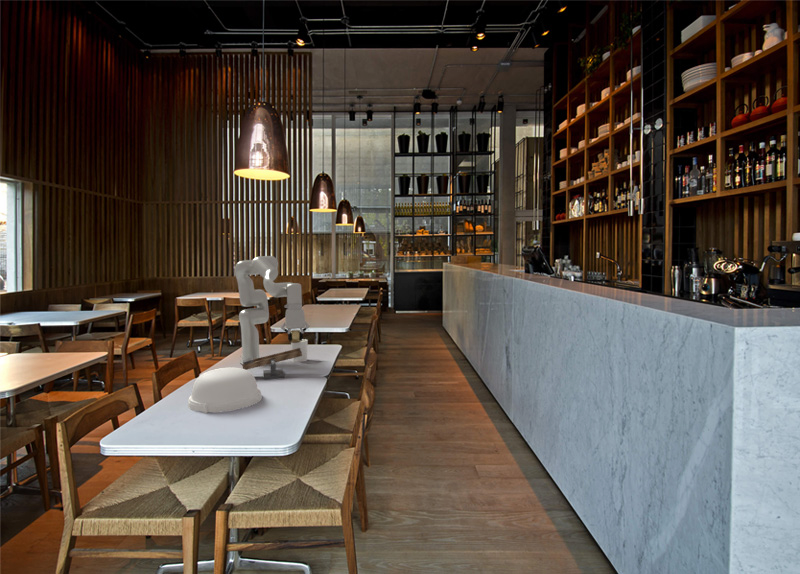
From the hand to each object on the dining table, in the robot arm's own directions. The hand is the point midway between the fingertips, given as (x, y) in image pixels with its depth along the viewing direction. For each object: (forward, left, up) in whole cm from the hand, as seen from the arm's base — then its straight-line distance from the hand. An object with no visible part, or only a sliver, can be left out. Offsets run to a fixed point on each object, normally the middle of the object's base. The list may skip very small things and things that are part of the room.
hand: (295, 340), depth 256 cm
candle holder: (-23, +20, -18) cm, 35 cm away
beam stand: (-7, -10, -17) cm, 21 cm away
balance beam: (-7, -10, -9) cm, 15 cm away
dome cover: (+15, -50, -18) cm, 55 cm away
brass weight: (0, 0, -1) cm, 1 cm away
